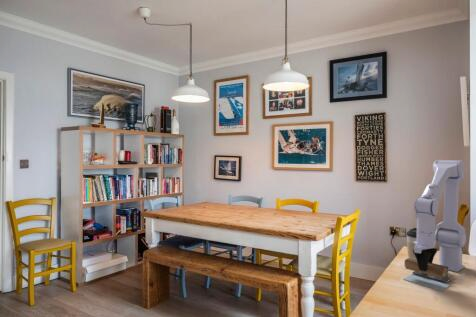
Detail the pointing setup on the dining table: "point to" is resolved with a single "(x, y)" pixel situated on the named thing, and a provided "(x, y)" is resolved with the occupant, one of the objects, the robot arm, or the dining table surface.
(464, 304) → the dining table surface
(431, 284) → the mat
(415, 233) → the coffee cup
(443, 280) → the stand
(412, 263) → the rail
